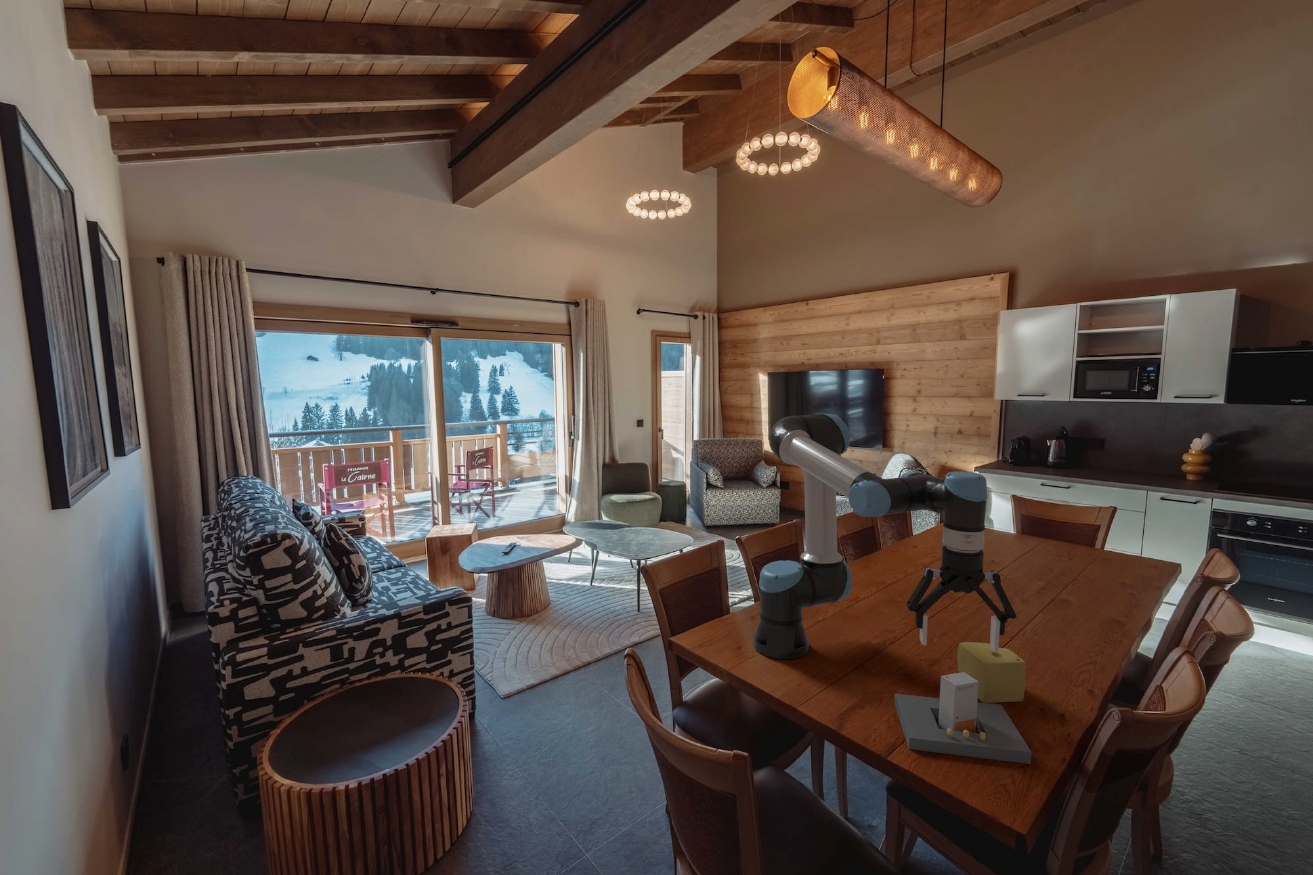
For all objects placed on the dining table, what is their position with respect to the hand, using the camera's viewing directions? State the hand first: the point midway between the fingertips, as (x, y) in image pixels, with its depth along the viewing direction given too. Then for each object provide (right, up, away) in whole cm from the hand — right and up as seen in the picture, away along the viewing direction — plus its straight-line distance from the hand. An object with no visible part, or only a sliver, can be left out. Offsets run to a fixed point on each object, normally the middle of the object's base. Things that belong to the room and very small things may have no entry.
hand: (958, 645), depth 118 cm
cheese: (+16, -17, +16) cm, 29 cm away
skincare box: (+1, -19, +1) cm, 19 cm away
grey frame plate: (0, -19, +1) cm, 19 cm away
